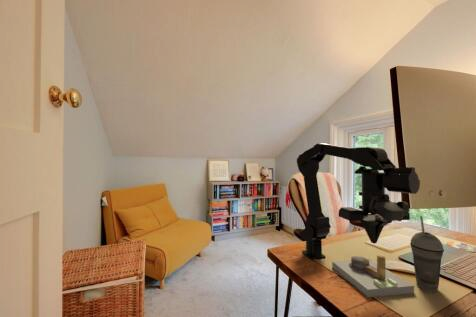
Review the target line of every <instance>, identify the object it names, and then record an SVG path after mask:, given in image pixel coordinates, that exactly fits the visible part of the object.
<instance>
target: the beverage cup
mask: <svg viewBox="0 0 476 317" xmlns="http://www.w3.org/2000/svg"><path fill="white" fill-rule="evenodd" d="M419 218H420V224H421V231H419V232H416V233H414V234H413V236H412V237H411V239H410V242H409V245H410V250H411V252H412V258H413V266H414V267H413V268H414V274H415V281H416V286H417V285H418V286H419V287H418V286H417V287H418V288H420V289H421V288H422V290H424V291H427V292H431V293H437V292H438V291H439V285H440V276H441V264H442V259H443V254H444V251H445V249H444V246H443V243H442V241H441V240H440V239H439V238H438V237H437V236H436V235H434V234H432V233H430V232H428V231H427V232H426V231H425V225H424V218H423V216H419Z"/></svg>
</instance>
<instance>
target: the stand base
mask: <svg viewBox="0 0 476 317" xmlns="http://www.w3.org/2000/svg"><path fill="white" fill-rule="evenodd" d="M367 259H368V258H367ZM368 260H369V265H370V266H372V267H374V268H376V269H377V262H374V261H373V260H371V259H368ZM331 264H332V265H331V266H332V267H333V268H332V269H334V270H335V271H336V272H337V271H338V272H339V273H338V272H337V273H338V274H339V275H340V276H342V277H343V278H344V279H345V280H347V281H348V282H349V283H350V284H352V285H353V286H354V287H355V288H356V289H358V290H359V291H360V292H361V293H362V294H363V295H365V296H366V297H367V298H375V297H377V298H378V297H387V296H397V295H398V296H399V295H411V294H415V285H413V284H412V283H410V282H408V281H407V280H405V279H404V278H402V277H400V276H398V275H397V274H395V273H393V272H391V271H389V270H388V269H387V268H385V274H386V279H385V280H382V279H379V278H377V277H376V276H374V275H372V274H370V273H368V272H366V271H365V270H359V269H356V268H354V267H353V266H352V265H351V260H337V261H335V260H334V261H332V263H331Z"/></svg>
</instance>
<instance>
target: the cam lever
mask: <svg viewBox="0 0 476 317" xmlns="http://www.w3.org/2000/svg"><path fill="white" fill-rule="evenodd" d="M350 259H351V265H352V266H353V267H354V268H356V269H359V270H365V271H366V272H368V273H370V274H372V275H374V276H376V277H377V278H379V279H382V280H385V279H386V274H385V269H386V257H385V256H384V255H379V254H376V264H377V269H376V268H374V267H372V266H370V265H369V260H368V258H366V257H363V256H359V255H353V256H351V257H350Z"/></svg>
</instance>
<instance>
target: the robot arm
mask: <svg viewBox="0 0 476 317" xmlns="http://www.w3.org/2000/svg"><path fill="white" fill-rule="evenodd" d="M326 156H332V157H337V158H341V159H346V160H350V161H352V162H353V163H355V164H358V165H360V166H359V168H358V169H356V170H355V171H354V174H355V175H356V174H357V175H361V191H358V195H359V196H361V204H360V205H358V208H355V207H353V206H352V207H351V206H350V207H346V206H343V207H340V208H339V209H338V217H339V218H342V219H344V220H346V221H350V222H360V224H361V226H362V227H363V228H364V231H365V232H366V235H367V236H368V239H369V241H370V243H372V244H377V242H378V241H379V238H380V235H381V233H382V231H383V229H384V228H385V226H387V225H388V224H391V223H393V222H396V221H397V222H402V221H406V220H407V221H410V219H411V215H410V214H411V213H410V205H409V203H407V202H406V201H397V202H396V201H395V202H394V201H393V202H392V201H391V200H390V196H389V194H387V193H386V190H387V191H388V192H392V193H401V194H402V193H403V194H411V195H412V194H413V195H416V194H418V192H419V191H420V186H421V180H420V179H419V176H418V173H417V171H416V167H414V166H412V167H411V166H408V167H407V166H404V167H396V165H395V164H394V163H393V161H391V159H390V158H389V157H388V156H389V155H388V153H387V152H386V150H385V149H383V148H380V147H370V146H369V147H368V146H367V147H365V146H364V147H361V146H360V147H348V146H340V145H335V144H328V143H326V142H325V143H323V142H318V143H316V144H315V145H313V146H312V147H310V148H309V149H307V150H305V151H303V152H302V153H301V154H299V155H298V157H297V158H296V164H297V169H298V171H299V173H300V174H301V175H302V177H303V182H304V183H303V184H304V189H305V198H306V203H307V210H308V212H307V213H308V214H307V216H306V218H305V227H304V229H302V230H301V232H299V234H300V238H301V239H302V240H304V241H305V249H304V250H302V251H301V252H302V253H303V254H304V255H305V256H306V257H307V258H308V259H326V255H324V254H323V252H322V251H323V250H322V249H323V246H322V245H323V244H322V240H325V239H327V236H328V235H329V234H330V232H331V228H332V226H331V225H330V217H329V216H325V214H324V213H323V209H322V203H321V196H320V190H319V183H318V177H317V175H318V172H319V170H320V163H321V162H322V161H323V160H324V159H325V157H326ZM379 171H382V172H379ZM399 174H400V175H399Z"/></svg>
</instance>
